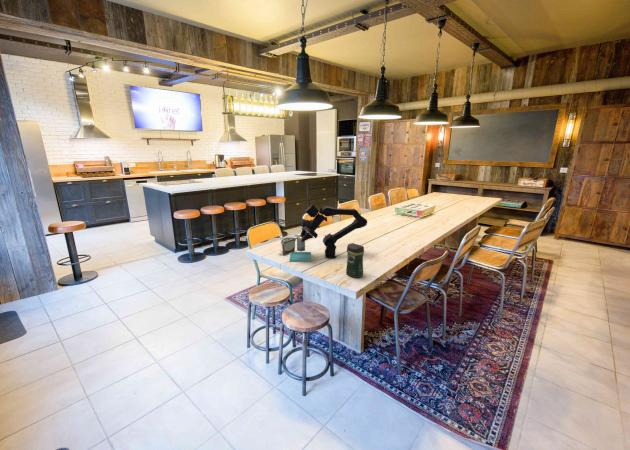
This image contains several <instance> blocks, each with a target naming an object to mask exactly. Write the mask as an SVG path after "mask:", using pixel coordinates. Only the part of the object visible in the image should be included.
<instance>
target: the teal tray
mask: <svg viewBox="0 0 630 450" xmlns="http://www.w3.org/2000/svg"><path fill="white" fill-rule="evenodd" d="M289 255H290V256H289V262H290V263H306V262H307V263H310V262H312V251H295V252H291V253H290V254H289Z"/></svg>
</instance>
